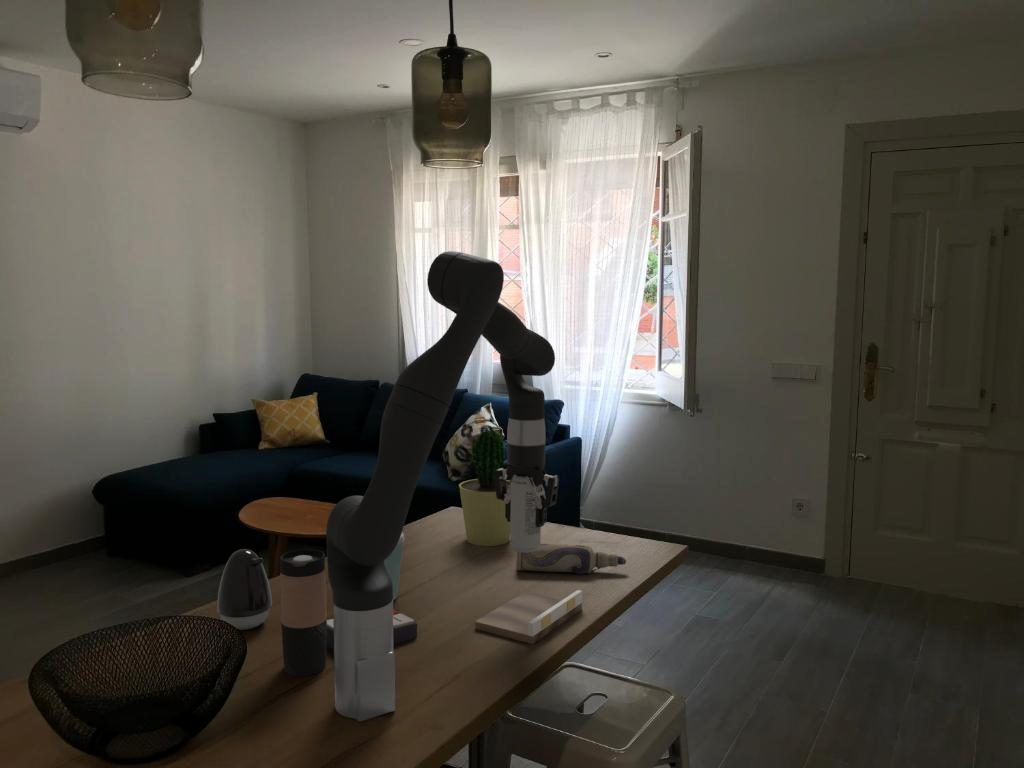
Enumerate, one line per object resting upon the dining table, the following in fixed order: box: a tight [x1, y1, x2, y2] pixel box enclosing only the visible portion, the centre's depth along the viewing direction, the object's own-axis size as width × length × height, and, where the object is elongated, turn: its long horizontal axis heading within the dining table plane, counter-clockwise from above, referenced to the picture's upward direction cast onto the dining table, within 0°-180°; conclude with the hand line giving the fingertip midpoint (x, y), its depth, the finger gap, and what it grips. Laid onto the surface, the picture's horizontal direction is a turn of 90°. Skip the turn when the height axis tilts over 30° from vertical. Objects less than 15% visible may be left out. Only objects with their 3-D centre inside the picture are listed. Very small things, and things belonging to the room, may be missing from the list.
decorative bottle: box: [515, 543, 627, 575], centre depth 192 cm, size 26×8×7 cm, turn 85°
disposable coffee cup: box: [384, 532, 405, 601], centre depth 174 cm, size 11×11×15 cm
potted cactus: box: [458, 429, 511, 547], centre depth 215 cm, size 15×15×30 cm
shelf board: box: [474, 589, 583, 645], centre depth 164 cm, size 20×13×2 cm, turn 148°
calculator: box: [326, 608, 418, 651], centre depth 154 cm, size 11×4×15 cm
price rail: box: [528, 589, 583, 637], centre depth 160 cm, size 20×1×2 cm, turn 148°
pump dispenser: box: [216, 548, 273, 631], centre depth 159 cm, size 10×10×15 cm
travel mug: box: [279, 548, 328, 677], centre depth 141 cm, size 8×8×20 cm
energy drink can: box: [509, 476, 542, 553], centre depth 162 cm, size 6×6×15 cm
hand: (525, 523), depth 162 cm, fingers closed on energy drink can, 6 cm apart
